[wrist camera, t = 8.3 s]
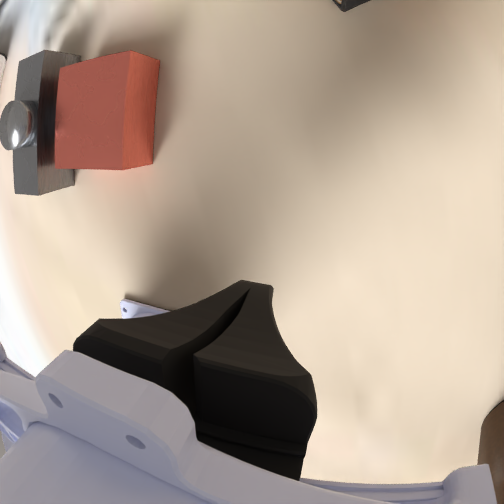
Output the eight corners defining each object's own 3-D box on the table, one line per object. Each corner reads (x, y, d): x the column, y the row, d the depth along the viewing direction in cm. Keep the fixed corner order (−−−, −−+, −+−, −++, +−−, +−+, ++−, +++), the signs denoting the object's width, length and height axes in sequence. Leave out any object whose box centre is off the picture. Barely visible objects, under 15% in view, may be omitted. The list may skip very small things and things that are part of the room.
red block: (152, 164, 21) (122, 170, 18) (86, 162, 23) (54, 168, 19) (160, 60, 19) (130, 50, 15) (91, 72, 20) (60, 68, 16)
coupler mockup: (134, 189, 23) (82, 206, 17) (48, 183, 25) (1, 197, 19) (144, 40, 18) (93, 22, 13) (53, 64, 20) (5, 60, 15)
